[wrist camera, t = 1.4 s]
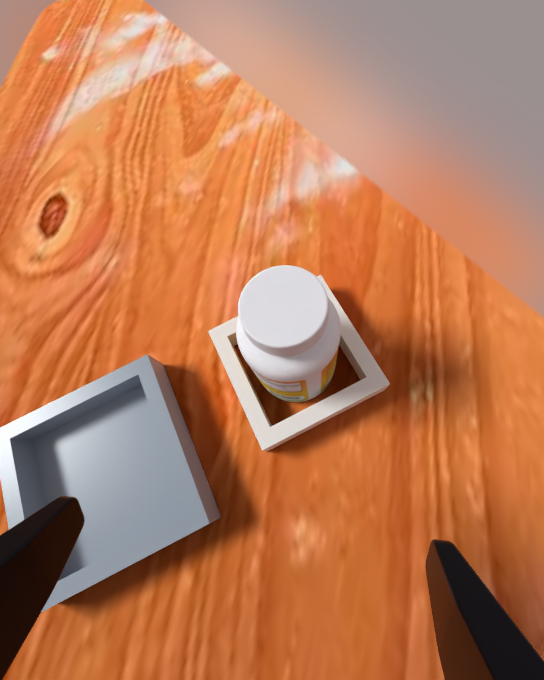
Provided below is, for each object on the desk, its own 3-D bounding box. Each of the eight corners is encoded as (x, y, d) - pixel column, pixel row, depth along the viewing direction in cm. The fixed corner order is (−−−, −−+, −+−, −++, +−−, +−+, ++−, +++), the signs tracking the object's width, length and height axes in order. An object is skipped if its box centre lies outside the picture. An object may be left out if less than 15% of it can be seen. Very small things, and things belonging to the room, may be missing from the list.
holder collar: (384, 390, 23) (390, 383, 21) (267, 451, 22) (262, 450, 20) (320, 288, 26) (320, 274, 24) (216, 340, 25) (208, 330, 23)
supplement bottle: (311, 315, 25) (307, 231, 16) (350, 379, 23) (371, 325, 14) (244, 350, 25) (202, 283, 16) (278, 417, 23) (253, 387, 14)
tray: (221, 517, 21) (209, 523, 19) (56, 603, 21) (23, 621, 18) (163, 364, 25) (147, 354, 23) (23, 434, 25) (-8, 431, 22)
